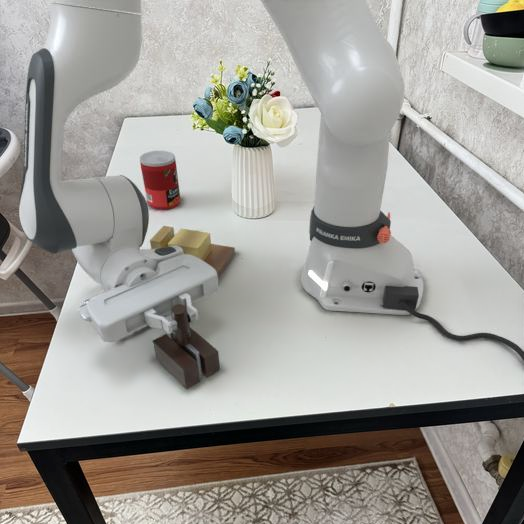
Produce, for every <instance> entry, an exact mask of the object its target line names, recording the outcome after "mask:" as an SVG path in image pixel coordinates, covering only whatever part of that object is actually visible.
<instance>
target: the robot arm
mask: <svg viewBox="0 0 524 524" xmlns="http://www.w3.org/2000/svg"><path fill="white" fill-rule="evenodd" d="M49 2H50V23H49V28H48V31H47V32H48V33H47V36H46V39H45V42H44V44H43V46H42V48H41V49H39V50H38V51H36V52H33V53H32V55H31V58H30V61H29V65H28V70H27V77H26V86H25V87H26V89H25V107H24V135H23V136H24V141H23V167H22V169H23V172H22V181H21V188H20V192H19V193H20V194H19V202H18V203H19V205H18V209H19V210H18V212H19V213H18V214H19V221H20V225H21V228H22V231H23V233H24V236H25V237H26V239H27V240H28V241H29V242H31V243H32V244H33V245H35V246H36V247H38V248H40V249H42V250H44V251H46V252H49V253H51V254H53V255H55V254H56V255H57V254H60V253H63V252H67V251H72V254H73V257H74V258H75V260H76V261H77V263H78V265H79V266H80V267H81V268H82V270H83V271H84V272H85V274H86V275H88V277H89V278H91V279H92V280H93V281H94V282H95V283H96V284H98V285H100V287H101V288H102V289H103V291H104V292H102V293H99V294H97V295H95V296H93V297H90V298H88V299H85V300H83V303H82V304H81V305H80V306H79V307H78V310H77V312H78V315H79V316H80V317H81V318H82V319H83V320H84V321H86V322H91V325H92V326H93V329H94V331H95V332H96V334H97V335H98V337H99V338H100V339H101V340H102V342H104V343H109V344H111V343H115V342H117V341H120V340H119V339H121V338H123V337H125V336H127V335H129V336H131V335H132V333H134V332H136V331H138V330H140V329H141V330H143V329H144V328H147V327H148V326H149V327H150V328H152V329H159V330H164V332H166V334H167V335H171V334H170V333H172V332H174V331H176V330H178V327H177V321H176V320H175V319H173V317H172V313H171V308H172V307H173V306H174V305H177V304H182V305H185V306H186V307H187V313H188V320H189V324H192V323H193V322H195V321H198V320H199V319H200V316H199V311H198V309H197V308H195V307H194V306H193V304H195V303H197V302H200V301H201V300H203V299H206V298H207V297H209V296H211V295H214V294H216V293H217V292H218V290H219V279H218V275H217V272H216V270H215V269H214V268H213V267H212V266H210V265H209V264H207V263H206V262H204V261H203V260H201V259H199V258H197V257H195V256H193V255H189V254H184V253H183V249H182V248H181V247H179V246H176V245H175V246H169V247H164V248H157V249H151V248H143V249H141V247H142V246H143V244H144V242H145V239H146V236H147V232H148V228H149V222H150V213H149V204H148V202H147V199H146V198H145V196H144V195H143V193H142V191H141V190H140V189H139V187H138V186H137V185H136V184H135V182H133V181H132V180H131V179H130V178H129V177H127V176H125V175H123V174H119V175H105V176H95V177H94V176H93V177H91V178H80V179H79V178H78V179H68V180H62V170H63V169H62V167H63V155H64V154H63V153H64V136H65V125H66V122H67V120H68V118H69V116H70V115H71V114H72V112H73V111H74V110H75V109H76V108H77V107H78V106H80V105H81V104H83V103H84V102H85V101H87V100H89V99H92V98H93V97H95V96H97V95H99V94H102V93H104V92H106V91H110V90H111V89H113V88H114V87H117V86H118V85H120V84H121V83H122V82H124V81H125V80H126V79H127V78H128V77H129V76H130V75H131V74H132V73H133V71H134V70H135V69H136V66H137V65H138V63H139V60H140V56H141V50H142V42H143V41H142V40H143V39H142V38H143V37H142V36H143V35H142V33H143V32H142V29H143V28H142V27H143V26H142V15H141V14H142V0H49ZM260 2H261V3H262V5H263V7H264V8H265V10H266V12H267V14H268V15H269V16H270V18H271V20H272V22H273V23H274V25H275V27H276V28H277V30H278V31H279V34H280V36H281V37H282V39H283V40H284V42H285V44H286V47H287V48H288V51H289V53H290V55H291V57H292V59H293V61H294V63H295V67H296V68H297V70H298V72H299V74H300V76H301V78H302V80H303V82H304V84H305V86H306V88H307V90H308V92H309V93H310V96H311V97H312V100H313V101H314V104H315V105H316V107H317V109H318V110H319V112H320V118H319V121H320V122H319V133H318V146H317V147H318V148H317V159H316V170H315V171H316V172H315V186H314V187H315V189H314V201H313V202H314V203H313V208H312V209H311V211H310V216H309V226H308V228H309V229H308V234H309V241H310V242H309V249H308V253H307V258H306V260H305V261H306V262H305V264H304V267H303V270H302V272H301V275H300V285H301V286H302V289H304V290H305V292H306V293H308V294H309V295H311V296H312V297H313V298H315V299H316V300H317V301H318V303H319V304H320V306H321V307H322V308H323V309H324V310H326V311H331V312H333V311H335V312H349V313H365V314H381V315H398V316H409V315H412V316H413V317H414V318H417V319H421V320H424V321H426V322H428V323H430V324H431V325H432V326H434V327H435V328H436V329H437V330H438V331H439V333H440V334H441V335H442V336H444V337H445V338H448V339H450V340H452V341H453V340H454V341H457V342H466V341H467V342H468V341H473V340H477V339H490V340H493V341H496V342H499V343H502V344H503V345H505V346H507V347H509V348H510V349H512V350H513V351H515V352H516V353H517V355H518V356H519V357H520V358H521V359H522V362H524V349H522V347H520V346H519V345H518V344H516V343H515V342H513V341H511V340H510V339H508V338H505V337H502V336H500V335H497V334H494V333H491V332H477V333H472V334H471V333H470V334H466V335H458V334H454V333H452V332H449V331H448V330H446V329H445V327H444V326H443V325H442V324H441V323H440V322H439V321H438V320H437V319H435V318H434V317H432V316H430V315H428V314H425V313H421V312H419V311H416V310H417V309H418V308H419V307H420V305H421V303H422V300H423V295H424V280H423V277H422V275H421V273H420V272H419V271H418V270H417V269H415V265H414V259H413V255H412V253H411V251H410V250H409V249H408V247H406V246H405V245H404V244H403V243H402V242H400V241H399V240H398V239H396V238H395V236H393V235H392V231H391V225H392V224H391V223H392V220H391V212H389V211H388V214H386V215H385V213H384V212H383V211H382V210H381V208H382V204H383V203H382V202H383V196H384V191H385V185H386V179H387V172H388V164H389V153H390V152H389V150H390V141H391V130H392V129H393V128H394V126H395V125H396V123H397V120H398V118H399V117H400V113H401V111H402V108H403V105H404V100H405V83H404V79H403V75H402V71H401V67H400V64H399V61H398V57H397V54H396V52H395V49H394V47H393V46H392V44H391V43H390V41H388V40H387V39H386V37H384V36H383V33H382V32H381V29H380V27H379V25H378V24H377V20H376V19H375V17H374V14H373V12H372V10H371V9H370V7H369V4H368V2H367V0H260ZM142 328H143V329H142ZM141 330H140V331H141ZM138 332H139V331H138ZM130 334H131V335H130Z"/></svg>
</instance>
